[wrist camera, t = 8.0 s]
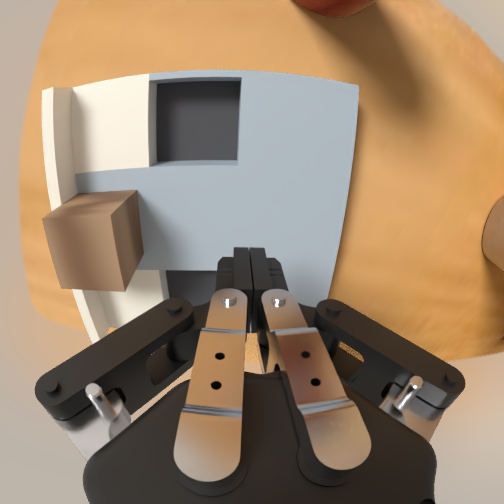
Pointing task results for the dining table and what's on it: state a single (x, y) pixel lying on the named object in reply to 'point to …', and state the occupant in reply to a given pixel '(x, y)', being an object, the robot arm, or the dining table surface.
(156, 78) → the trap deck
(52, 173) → the end stop
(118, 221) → the walnut block
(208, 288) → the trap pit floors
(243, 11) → the dining table surface
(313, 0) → the soda can
